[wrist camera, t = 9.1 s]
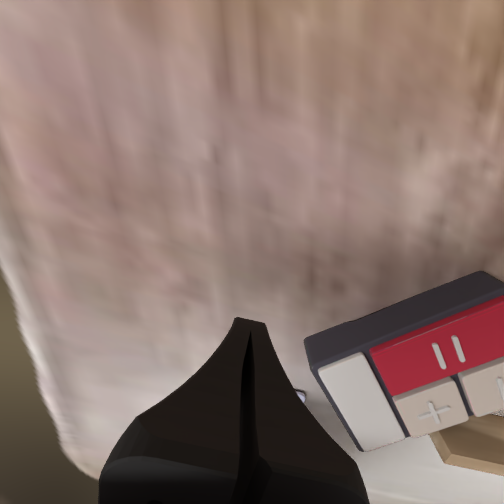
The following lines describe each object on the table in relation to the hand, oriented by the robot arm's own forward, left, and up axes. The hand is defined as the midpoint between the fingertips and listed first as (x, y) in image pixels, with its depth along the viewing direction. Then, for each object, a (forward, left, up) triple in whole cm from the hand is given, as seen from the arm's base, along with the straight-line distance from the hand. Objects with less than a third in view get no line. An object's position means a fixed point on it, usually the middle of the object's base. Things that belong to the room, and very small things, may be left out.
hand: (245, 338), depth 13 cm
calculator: (-6, -15, -11) cm, 20 cm away
